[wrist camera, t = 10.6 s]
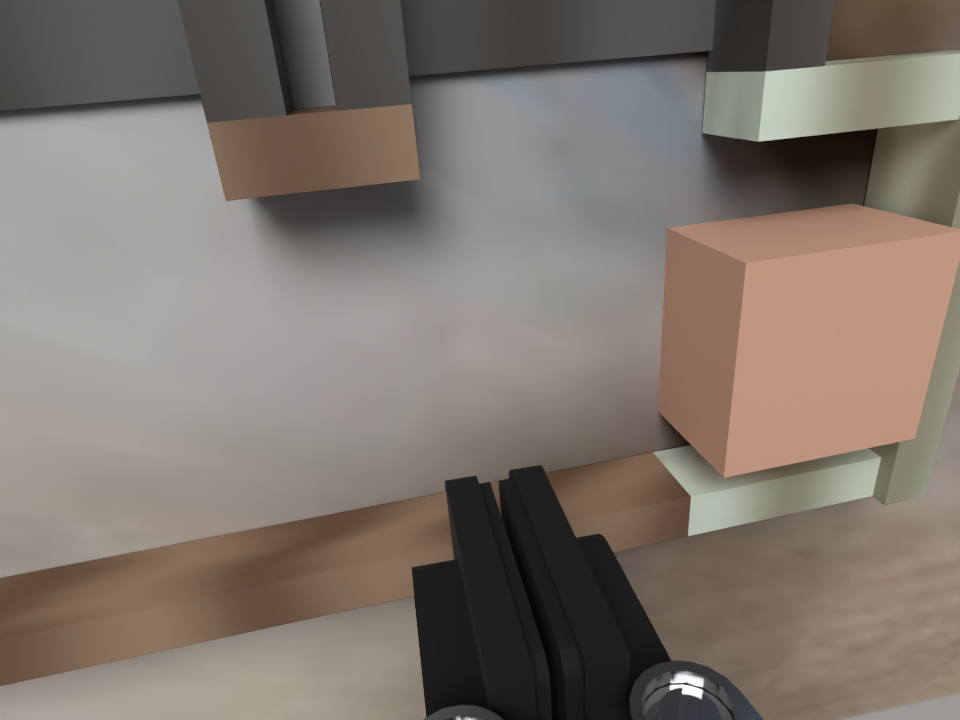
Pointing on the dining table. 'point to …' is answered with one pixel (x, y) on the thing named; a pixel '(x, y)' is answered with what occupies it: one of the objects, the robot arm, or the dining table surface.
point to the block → (801, 332)
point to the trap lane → (393, 158)
